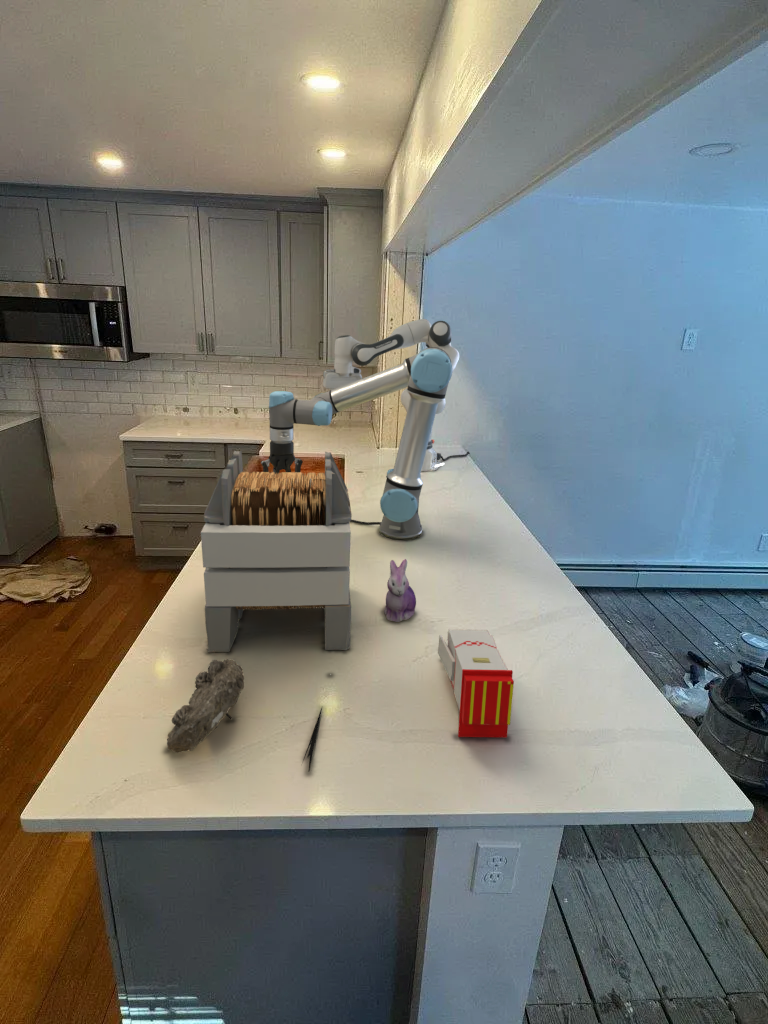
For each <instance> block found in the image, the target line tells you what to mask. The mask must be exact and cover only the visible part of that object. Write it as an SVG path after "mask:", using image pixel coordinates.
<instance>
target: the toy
mask: <svg viewBox="0 0 768 1024" xmlns="http://www.w3.org/2000/svg"><path fill="white" fill-rule="evenodd" d="M446 640H447V643H446V641H445V639H444V636H443V635H442V634H439V637H438V646H437V656H438V657H439V659H440V661H441V663H442V666H443V668H444V670H445V672H446V674H447V677H448V679H449V681H450V684H451V687H452V690H453V693H454V697H455V701H456V705H457V708H458V711H459V714H458V715H459V716H458V730H457V731H458V732H457V737H458V738H508V731H509V726H510V725H511V717H512V707H513V697H514V696H513V695H514V684H515V680H514V679H513V673H514V671H513V670H512V669H508V667H507V665H506V662H505V661H504V659H503V658H502V655H501V653H500V651H499V649H498V647H497V643H496V639H495V637H494V635H493V634H491V632H490V631H489V629H467V628H466V629H465V628H463V629H461V628H460V629H459V628H448V630H447V639H446Z"/></svg>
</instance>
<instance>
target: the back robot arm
mask: <svg viewBox="0 0 768 1024" xmlns="http://www.w3.org/2000/svg"><path fill="white" fill-rule="evenodd" d="M452 334H453V333H452V328H451V326H450V323H448V322H447V321H444V320H437V321H435V322H433V323H432V324H431V322H430V321H429V320H428V319H426V318H419V319H415V320H412V321H409V322H406V323H403V324H401V325H399V326H397V327H396V328H395V329H393V330H392V332H391V334H389V335H388V336H387V337H385V338H383V339H381V340H378V341H375V342H373V343H364V342H362V341H360V340H357V339H356V338H354V337H353V336H352V335H349V334H345V335H339V336H338V337H336V338H335V341H334V353H333V354H334V362H333V369H332V368H331V369H328V368H326V369H325V370H323V373H322V377H323V380H322V387H323V388H324V389H327V390H329V391H331V390H333V389H336V388H339V387H341V386H344V385H347V384H349V383H352V382H355V381H357V380H360V379H363V376H362V369H361V368H359V367H356V366H354V365H353V362H354V363H355V364H356V365H358V366H360V367H364V366H368V365H369V364H370V363H372V361H374V360H375V358H377V357H379V356H382V355H384V354H387V353H389V352H391V351H396V350H400V349H406V348H409V347H412V346H415V345H418V344H420V343H425V347H426V348H429V347H437V348H440V349H442V350H444V351H445V352H446V353H447V354H448V355H449V357H450V359H451V363H452V374H453V373H454V371H455V369H456V367H457V365H458V362H459V359H460V353H459V350H458V349H457V348H456V347H454V346H453V345H452V341H453V339H452V338H453V337H452ZM407 388H408V387H407ZM407 388H404V389H403V391H402V392H401V394H400V403H401V405H402V406H403V407H404V409H405V411H406V413H407V410H408V406H409V402H410V395H409V393H408V391H407ZM446 404H447V400H446V398H445V399H444V400H443V401H441V402H439V403H438V406H437V410H436V414H437V415H439V414H441V413H442V412H443V411H444V410H445V408H446ZM436 414H435V415H436ZM432 437H433V429H432V430H431V434H430V438H429V442H428V446H427V450H426V454H425V457H424V461H423V465H422V469H421V472H436V471H437V470H438V469H439V467H441V466H444V465H445V462H447V460H449V459H450V458H461V457H467V456H469V455H470V454H471V452H470V451H466V453H465V454H453V455H452V454H451V455H448V456H447V457H446V458H444V457H443V456H442V453H440V452H437V451H435V449H434V447H433V445H434V443H435V439H432ZM440 460H442V461H443V462H441V461H440Z"/></svg>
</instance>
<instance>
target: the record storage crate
mask: <svg viewBox="0 0 768 1024" xmlns="http://www.w3.org/2000/svg"><path fill="white" fill-rule="evenodd" d="M337 465H338V464H337V463H336V461H335V459H334V457H333V454H332V452H330V451H324V472H317V473H316V472H307V473H306V472H305V473H304V472H295V471H293V472H292V471H291V472H286V471H282V472H279V473H278V474H277V472H276V474H275V472H273V471H269V472H263V471H261V472H259V471H251V472H250V471H244V469H243V468H244V467H243V466H244V465H243V453H242V451H237V450H234V451H233V453H232V454H231V457H230V458H229V459H228V462H227V464H226V466H225V468H224V469H223V470H222V471H221V474H220V476H219V479H218V481H217V483H216V485H215V487H214V490H213V492H212V494H211V497H210V498H209V502H208V503H207V506H206V508H205V510H204V514H203V521H204V522H205V523H204V525H203V527H202V529H201V531H200V541H201V556H202V568H205V570H204V571H203V582H204V596H205V599H204V600H205V605H204V621H205V633H206V640H207V641H206V642H207V648H206V651H207V653H215V652H217V653H218V652H219V653H220V652H221V653H222V652H223V653H224V652H226V653H227V652H230V651H231V649H232V646H233V644H234V642H235V638H236V637H237V634H238V632H239V629H240V624H239V623H240V622H239V621H240V620H242V617H243V613H244V611H245V610H252V611H254V610H255V611H256V610H293V609H294V610H296V609H297V610H299V609H300V610H301V609H303V610H306V609H307V610H310V609H312V610H313V609H324V611H323V612H324V614H323V616H324V617H323V618H324V650H325V651H326V650H332V651H333V650H334V651H335V650H342V651H347V650H349V649H350V648H351V631H352V626H351V625H352V603H351V591H350V580H351V579H350V578H351V576H350V575H351V570H350V566H351V543H352V542H351V538H352V537H351V536H352V535H351V534H352V531H351V525H350V523H351V522H350V521H351V520H352V516H353V515H352V509H351V508H352V507H351V501H350V496H349V495H350V494H349V489H348V486H347V485H346V483H345V480H344V478H343V476H342V474H341V471H340V470H339V467H338V466H337Z"/></svg>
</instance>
